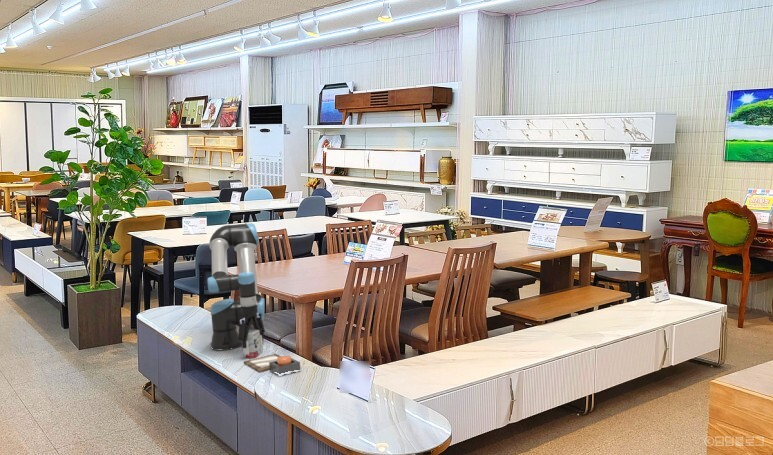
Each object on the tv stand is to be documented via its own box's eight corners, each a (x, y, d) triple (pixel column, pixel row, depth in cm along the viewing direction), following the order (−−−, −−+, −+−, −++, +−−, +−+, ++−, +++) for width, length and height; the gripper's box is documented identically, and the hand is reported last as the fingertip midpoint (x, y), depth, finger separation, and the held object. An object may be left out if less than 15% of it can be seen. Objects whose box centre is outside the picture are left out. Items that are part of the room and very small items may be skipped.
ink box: (255, 358, 320) (252, 333, 319) (245, 358, 321) (242, 333, 320) (262, 352, 328) (259, 328, 327) (252, 352, 329) (250, 328, 328)
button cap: (275, 366, 298) (274, 357, 297) (288, 363, 301) (287, 354, 300) (281, 369, 293) (280, 360, 292) (294, 366, 296) (293, 357, 295)
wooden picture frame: (243, 363, 313) (243, 361, 313) (275, 355, 322) (275, 353, 321) (259, 372, 298) (259, 369, 298) (292, 364, 307) (292, 361, 306)
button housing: (269, 371, 298) (269, 362, 298) (290, 366, 304) (289, 357, 303) (279, 376, 290) (278, 367, 290) (300, 371, 296) (299, 362, 295)
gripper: (239, 310, 311) (244, 358, 313) (269, 300, 330) (274, 345, 332) (226, 310, 314) (231, 357, 317) (257, 299, 333) (261, 344, 336)
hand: (253, 351), depth 325 cm, fingers closed on ink box, 9 cm apart
